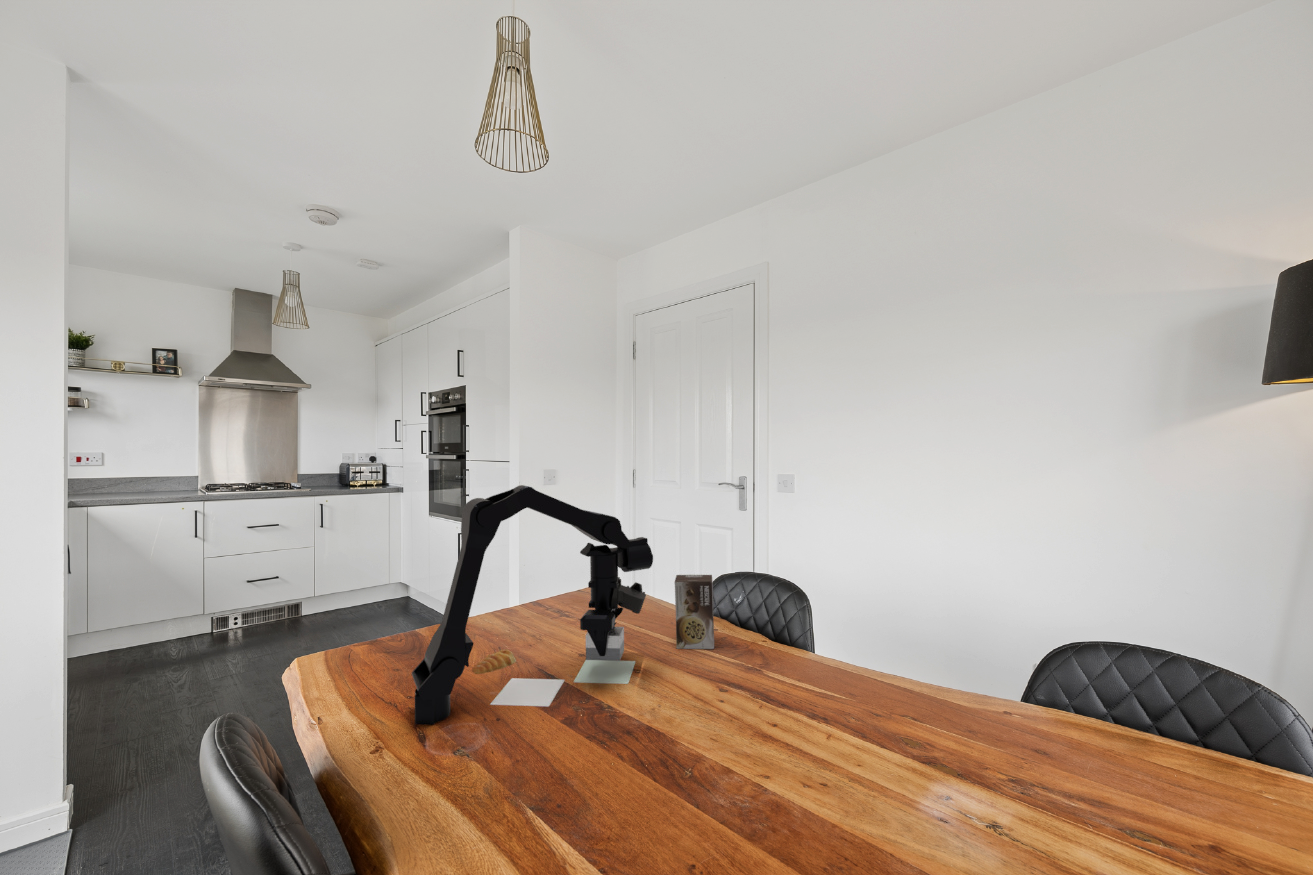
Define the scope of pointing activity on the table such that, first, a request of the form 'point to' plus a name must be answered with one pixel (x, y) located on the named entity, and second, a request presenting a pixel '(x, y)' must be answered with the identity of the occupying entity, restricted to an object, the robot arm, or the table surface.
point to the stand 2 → (605, 672)
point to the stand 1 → (528, 692)
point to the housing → (613, 646)
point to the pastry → (494, 662)
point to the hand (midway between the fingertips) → (605, 650)
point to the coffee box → (694, 612)
